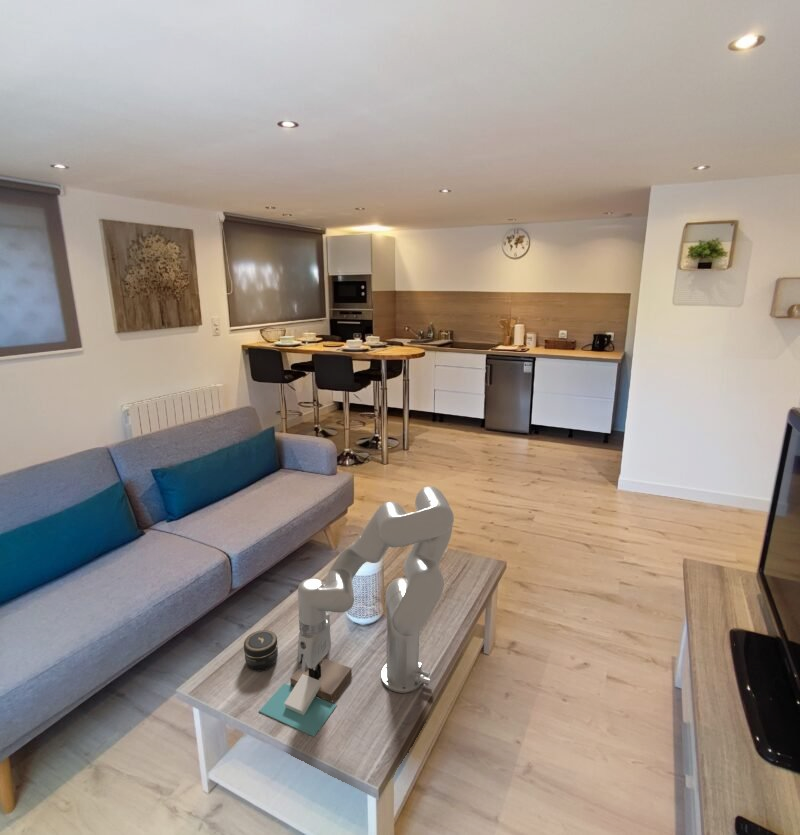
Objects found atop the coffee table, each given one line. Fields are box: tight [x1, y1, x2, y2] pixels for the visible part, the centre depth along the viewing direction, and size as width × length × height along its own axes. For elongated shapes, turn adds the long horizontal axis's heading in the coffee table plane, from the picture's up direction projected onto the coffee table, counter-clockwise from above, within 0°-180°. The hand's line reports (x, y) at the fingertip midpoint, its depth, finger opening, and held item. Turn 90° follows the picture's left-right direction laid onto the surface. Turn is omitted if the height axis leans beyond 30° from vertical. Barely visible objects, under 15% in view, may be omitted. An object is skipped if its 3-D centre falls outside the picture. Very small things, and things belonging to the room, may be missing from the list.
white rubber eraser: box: [284, 674, 321, 715], centre depth 137 cm, size 6×9×2 cm, turn 155°
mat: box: [258, 683, 337, 738], centre depth 135 cm, size 18×11×1 cm, turn 65°
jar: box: [243, 629, 279, 672], centre depth 151 cm, size 10×10×8 cm
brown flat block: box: [289, 657, 353, 703], centre depth 145 cm, size 14×11×2 cm
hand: (315, 677), depth 142 cm, fingers closed
